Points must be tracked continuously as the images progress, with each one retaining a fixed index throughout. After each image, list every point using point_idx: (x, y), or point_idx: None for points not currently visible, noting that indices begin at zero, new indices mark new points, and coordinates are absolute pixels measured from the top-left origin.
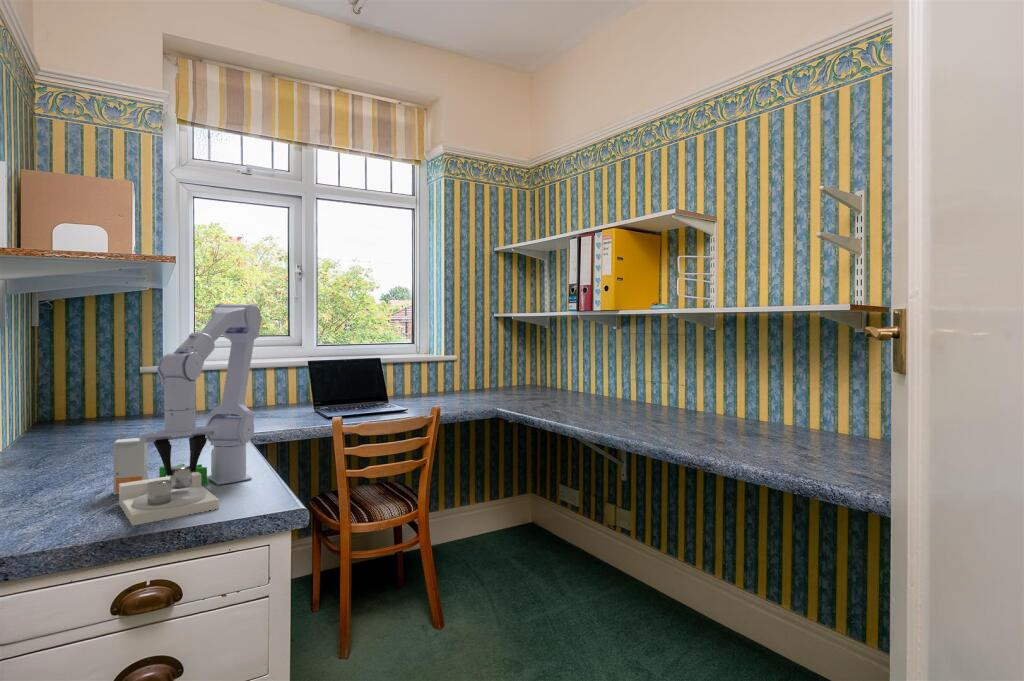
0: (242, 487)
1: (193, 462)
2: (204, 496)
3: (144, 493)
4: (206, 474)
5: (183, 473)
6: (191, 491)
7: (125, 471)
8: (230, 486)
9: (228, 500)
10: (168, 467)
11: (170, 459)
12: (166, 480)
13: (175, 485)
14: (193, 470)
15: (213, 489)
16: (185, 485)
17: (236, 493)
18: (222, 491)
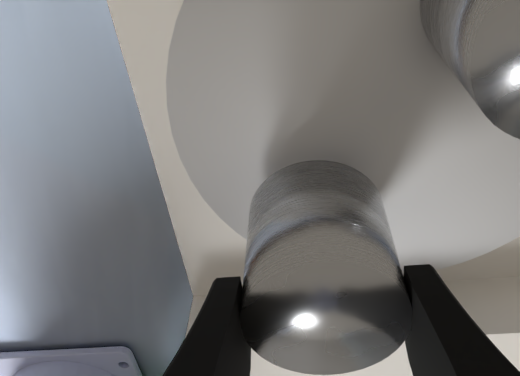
0: (8, 269)
1: (222, 332)
2: (179, 11)
3: (483, 283)
4: None
5: (315, 235)
6: (256, 163)
7: None
8: (69, 309)
9: (53, 70)
10: (448, 308)
11: (457, 374)
12: (497, 99)
13: (363, 188)
14: (229, 283)
15: (145, 303)
16: (296, 173)
17: (24, 186)
18: (101, 255)
